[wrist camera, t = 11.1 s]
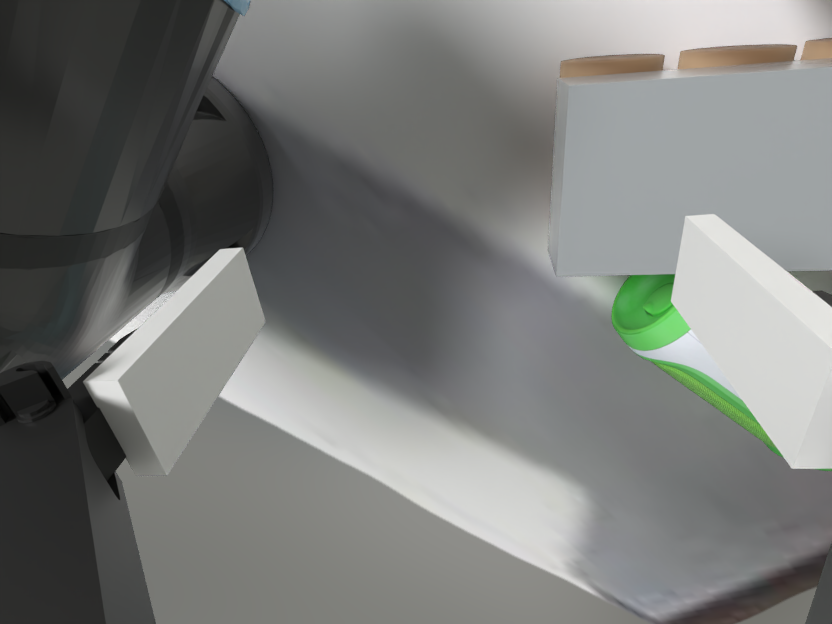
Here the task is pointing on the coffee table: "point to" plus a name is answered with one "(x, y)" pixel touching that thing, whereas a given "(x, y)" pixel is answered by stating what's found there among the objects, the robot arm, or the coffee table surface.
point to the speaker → (676, 346)
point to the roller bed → (695, 58)
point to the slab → (691, 165)
